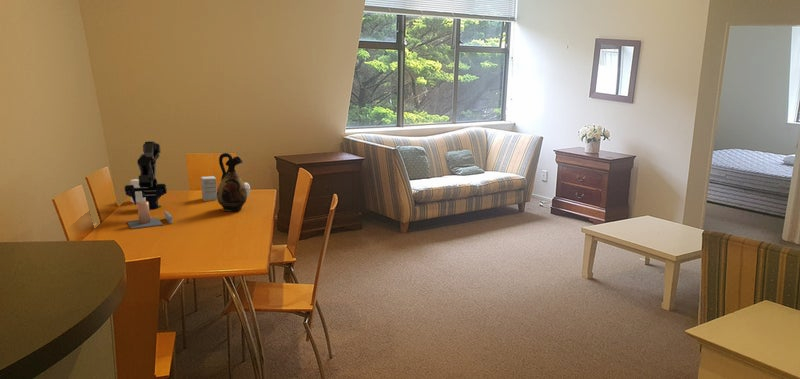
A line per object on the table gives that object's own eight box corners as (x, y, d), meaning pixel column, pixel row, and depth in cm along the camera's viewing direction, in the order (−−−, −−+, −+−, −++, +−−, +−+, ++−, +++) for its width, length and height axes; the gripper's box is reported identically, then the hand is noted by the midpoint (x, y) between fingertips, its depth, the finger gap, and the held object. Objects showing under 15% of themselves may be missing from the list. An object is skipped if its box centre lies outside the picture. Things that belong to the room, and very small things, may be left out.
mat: (126, 222, 286) (126, 221, 286) (157, 218, 293) (157, 217, 293) (131, 229, 274) (131, 228, 274) (163, 225, 281) (162, 224, 281)
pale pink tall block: (147, 220, 287) (145, 200, 285) (152, 222, 284) (150, 202, 282) (137, 222, 283) (135, 202, 281) (142, 224, 280) (140, 204, 278)
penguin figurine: (250, 182, 339) (229, 186, 333) (252, 197, 341) (231, 201, 335) (247, 181, 344) (226, 184, 338) (249, 195, 346) (228, 199, 340)
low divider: (165, 218, 294) (164, 211, 293) (167, 218, 295) (166, 211, 294) (170, 223, 284) (169, 216, 283) (172, 223, 285) (171, 216, 284)
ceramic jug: (251, 206, 320) (249, 151, 314) (241, 213, 305) (239, 156, 299) (221, 205, 322) (218, 150, 315) (209, 212, 307) (206, 155, 300)
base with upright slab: (127, 202, 327) (125, 180, 324) (140, 199, 334) (139, 178, 332) (138, 204, 323) (136, 182, 320) (151, 200, 330) (150, 179, 328)
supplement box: (202, 198, 338) (200, 176, 335) (215, 197, 341) (214, 175, 338) (203, 201, 331) (202, 179, 328) (217, 200, 334) (216, 178, 332)
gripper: (123, 169, 288) (121, 196, 280) (164, 167, 293) (163, 194, 285) (127, 181, 297) (125, 208, 289) (167, 180, 302) (166, 206, 294)
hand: (145, 204), depth 289 cm, fingers open, 9 cm apart
